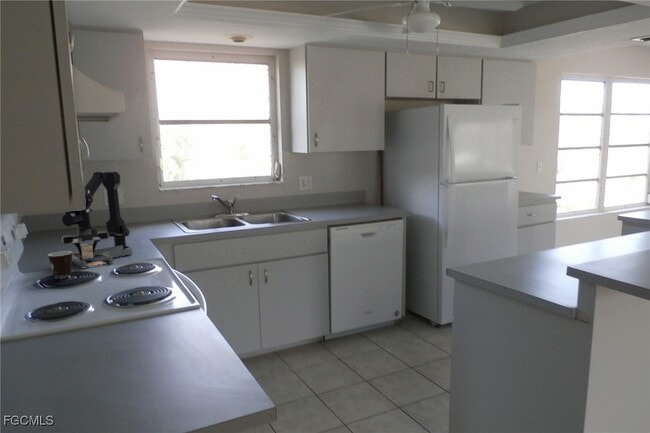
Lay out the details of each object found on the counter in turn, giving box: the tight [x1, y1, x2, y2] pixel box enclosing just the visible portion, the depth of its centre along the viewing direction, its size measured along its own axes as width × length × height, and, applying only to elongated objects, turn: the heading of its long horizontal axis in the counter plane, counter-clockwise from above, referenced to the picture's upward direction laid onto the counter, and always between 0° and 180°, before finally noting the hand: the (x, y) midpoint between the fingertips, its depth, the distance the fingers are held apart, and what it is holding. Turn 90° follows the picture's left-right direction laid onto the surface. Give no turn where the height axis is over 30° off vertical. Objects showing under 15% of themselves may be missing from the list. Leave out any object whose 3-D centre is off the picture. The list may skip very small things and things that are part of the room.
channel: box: [72, 245, 133, 268], centre depth 222 cm, size 22×25×3 cm
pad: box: [86, 260, 107, 265], centre depth 213 cm, size 7×8×1 cm
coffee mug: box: [47, 250, 73, 275], centre depth 192 cm, size 12×9×10 cm
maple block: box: [80, 243, 95, 260], centre depth 219 cm, size 4×4×6 cm
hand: (87, 255), depth 220 cm, fingers closed on maple block, 4 cm apart
